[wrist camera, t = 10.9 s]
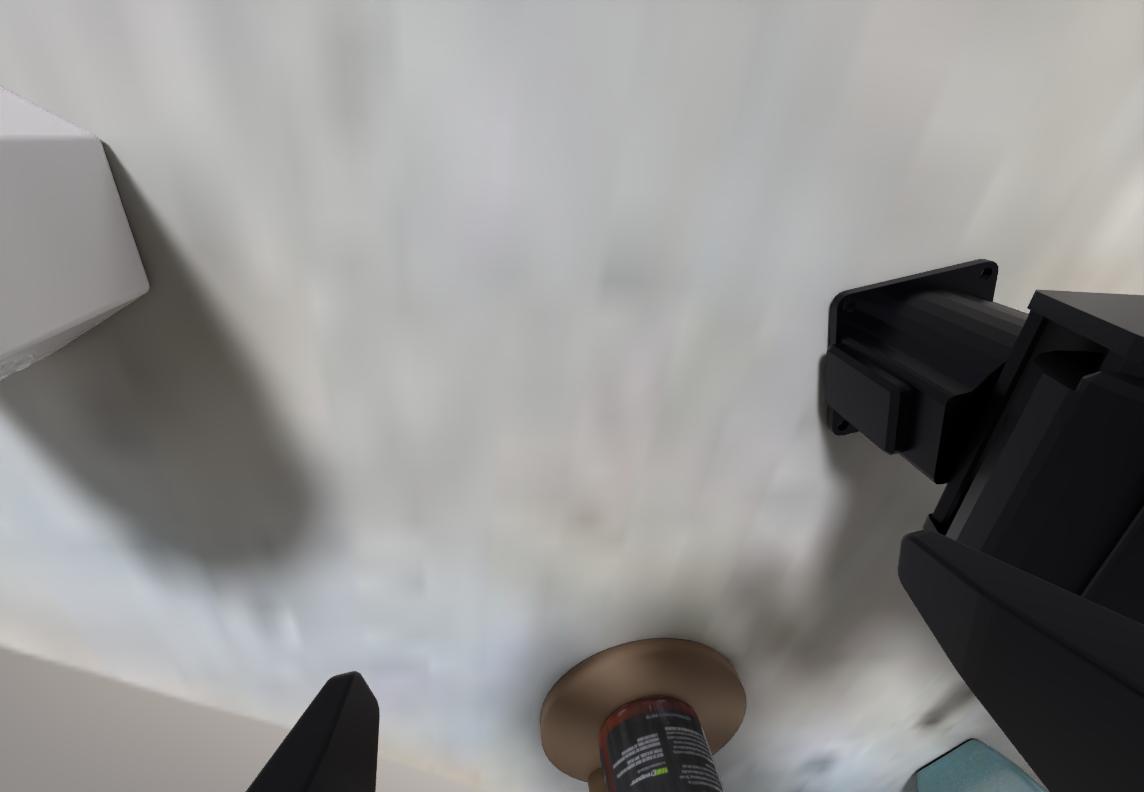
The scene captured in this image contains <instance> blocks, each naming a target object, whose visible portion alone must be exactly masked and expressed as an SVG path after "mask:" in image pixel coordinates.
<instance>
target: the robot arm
mask: <svg viewBox="0 0 1144 792" xmlns="http://www.w3.org/2000/svg"><path fill="white" fill-rule="evenodd" d="M983 269H984V271H983V274H982V275H981V276H980V273H981V272H982V270H983ZM997 275H998V265H997V264H996V263H995V262H993V261H990V260H986V259H978V260H974V261H970V262H966V263H961V264H957V265H953V266H948V267H944V268H940V269H936V270H931V271H927V272H923V273H919V274H914V275H910V276H906V277H902V278H897V279H893V280H889V281H885V282H880V283H876V284H872V285H868V286H863V287H859V288H855V289H850V290H846V291H843V292H841V293H839V294H838V295H836V296H835V298H834V299H833V301H832V305H831V327H830V347H829V349H828V351H827V363H826V392H825V402H826V403H827V404H828V409H827V426H828V428H829V429H830V430H831V431H832V432H833V433H834V434H836V435H846V434H850V433H854V432H858V431H860V432H861V433H863V434H864V435H865V436H866V437H867V438H869V439H870V440H871V441H872V442H873V443H875V444H876V445H877V446H878V447H879V448H881V449H882V450H883V451H885V452H886V453H888V454H890V455H892V454H897V453H898V454H900V455H901V456H902V457H903V458H905V459H906V460H907V461H908V462H910V463H911V464H912V465H913V466H915V467H916V468H917V469H918V470H920V471H921V472H922V473H923V474H924V475H926V476H927V477H928V478H929V479H931V480H932V481H933V482H934V483H936V484H944V483H947V485H946V488H945V490H944V492H943V494H942V496H941V498H940V500H939V502H938V504H937V506H936V508H935V510H934V512H933V514H929V515H928V517H927V519H926V522H925V524H924V526H923V529H924V530H922V531H918V532H913V533H909V534H906V535H905V536H904V537H903V538H902V540H901V547H900V554H899V562H898V576H899V579H900V581H901V584H902V585H903V587H904V589H905V590H906V592H907V593H908V595H909V597H910V598H911V600H912V601H913V603H914V604H915V606H916V608H917V609H918V611H919V612H920V614H921V615H922V617H923V619H924V620H925V622H926V623H927V625H928V626H929V628H930V630H931V631H932V633H933V634H934V636H935V637H936V639H937V641H938V642H939V644H940V645H941V647H942V648H943V650H944V652H945V653H946V655H947V656H948V658H949V659H950V661H951V662H952V664H953V665H954V667H955V668H956V670H957V671H958V673H959V674H960V676H961V677H962V678H963V680H964V681H965V683H966V684H967V685H968V687H969V688H970V689H971V691H972V692H973V693H974V695H975V696H976V697H977V698H978V700H979V701H980V702H981V704H982V705H983V706H984V707H985V709H986V710H987V711H988V713H989V714H990V715H991V717H992V718H993V719H994V720H995V722H996V723H997V724H998V726H999V727H1000V728H1001V729H1002V731H1003V732H1004V733H1005V735H1006V736H1007V737H1008V739H1009V740H1010V741H1011V742H1012V744H1013V745H1014V746H1015V748H1016V749H1017V750H1018V751H1019V753H1020V754H1021V755H1022V757H1023V758H1024V759H1025V761H1026V762H1027V763H1028V764H1029V766H1030V767H1031V768H1032V770H1033V771H1034V772H1035V773H1036V775H1037V776H1038V777H1039V779H1040V780H1041V781H1042V783H1043V784H1044V785H1045V786H1046V788H1047V789H1048V790H1049V792H1144V295H1126V294H1107V293H1088V292H1070V291H1051V290H1036V291H1035V293H1034V295H1033V297H1032V299H1031V301H1030V303H1029V306H1028V309H1030V310H1031V311H1030V313H1029V314H1027V313H1024V312H1021V311H1018V310H1015V309H1013V308H1010V307H1007V306H1004V305H1001V304H998V303H995V302H993V297H994V291H995V286H996V281H997ZM848 300H850V303H849V305H848V307H847V308H845V309H843V306H844V304H845V303H846V302H847V301H848ZM842 421H843V423H842V424H841V425H839V426H838V424H839V423H840V422H842ZM378 734H379V706H378V702H377V700H376V698H375V696H374V695H373V693H372V691H371V690H370V688H369V686H368V685H367V683H366V682H365V680H364V678H363V677H362V675H361V674H360V673H358V672H356V671H352V672H348V673H344V674H340V675H336V676H333V677H332V678H330V679H329V680H328V681H327V682H326V684H325V685H324V686H323V688H322V689H321V690H320V692H319V693H318V694H317V696H316V697H315V698H314V700H313V701H312V702H311V704H310V705H309V707H308V708H307V709H306V711H305V712H304V713H303V715H302V716H301V717H300V719H299V720H298V721H297V723H296V724H295V726H294V727H293V728H292V730H291V731H290V732H289V734H288V735H287V736H286V738H285V739H284V740H283V742H282V743H281V745H280V746H279V747H278V749H277V750H276V751H275V753H274V754H273V755H272V757H271V758H270V760H269V761H268V762H267V764H266V765H265V766H264V768H263V769H262V771H261V772H260V773H259V774H258V776H257V777H256V778H255V780H254V781H253V782H252V784H251V785H250V787H249V788H248V789H247V791H246V792H375V789H376V788H375V787H376V770H377V753H378Z"/></svg>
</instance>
